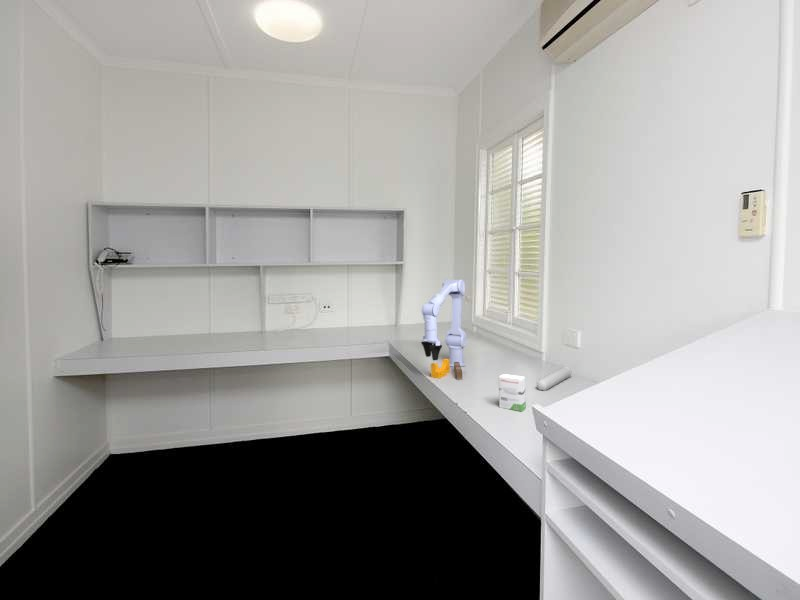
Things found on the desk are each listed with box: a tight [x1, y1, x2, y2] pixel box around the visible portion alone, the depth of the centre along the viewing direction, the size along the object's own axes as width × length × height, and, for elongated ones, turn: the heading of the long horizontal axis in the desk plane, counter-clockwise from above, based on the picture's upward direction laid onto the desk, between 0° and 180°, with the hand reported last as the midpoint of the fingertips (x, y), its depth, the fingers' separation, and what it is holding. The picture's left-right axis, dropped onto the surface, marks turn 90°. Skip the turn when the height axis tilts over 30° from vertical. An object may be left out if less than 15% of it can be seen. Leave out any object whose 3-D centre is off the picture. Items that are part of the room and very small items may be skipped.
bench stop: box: [453, 362, 463, 381], centre depth 191 cm, size 16×2×4 cm, turn 177°
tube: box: [536, 365, 572, 392], centre depth 173 cm, size 5×5×25 cm
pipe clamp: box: [430, 358, 451, 379], centre depth 192 cm, size 12×4×6 cm, turn 141°
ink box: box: [498, 373, 527, 412], centre depth 147 cm, size 9×5×12 cm, turn 54°
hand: (431, 358), depth 188 cm, fingers open, 7 cm apart
